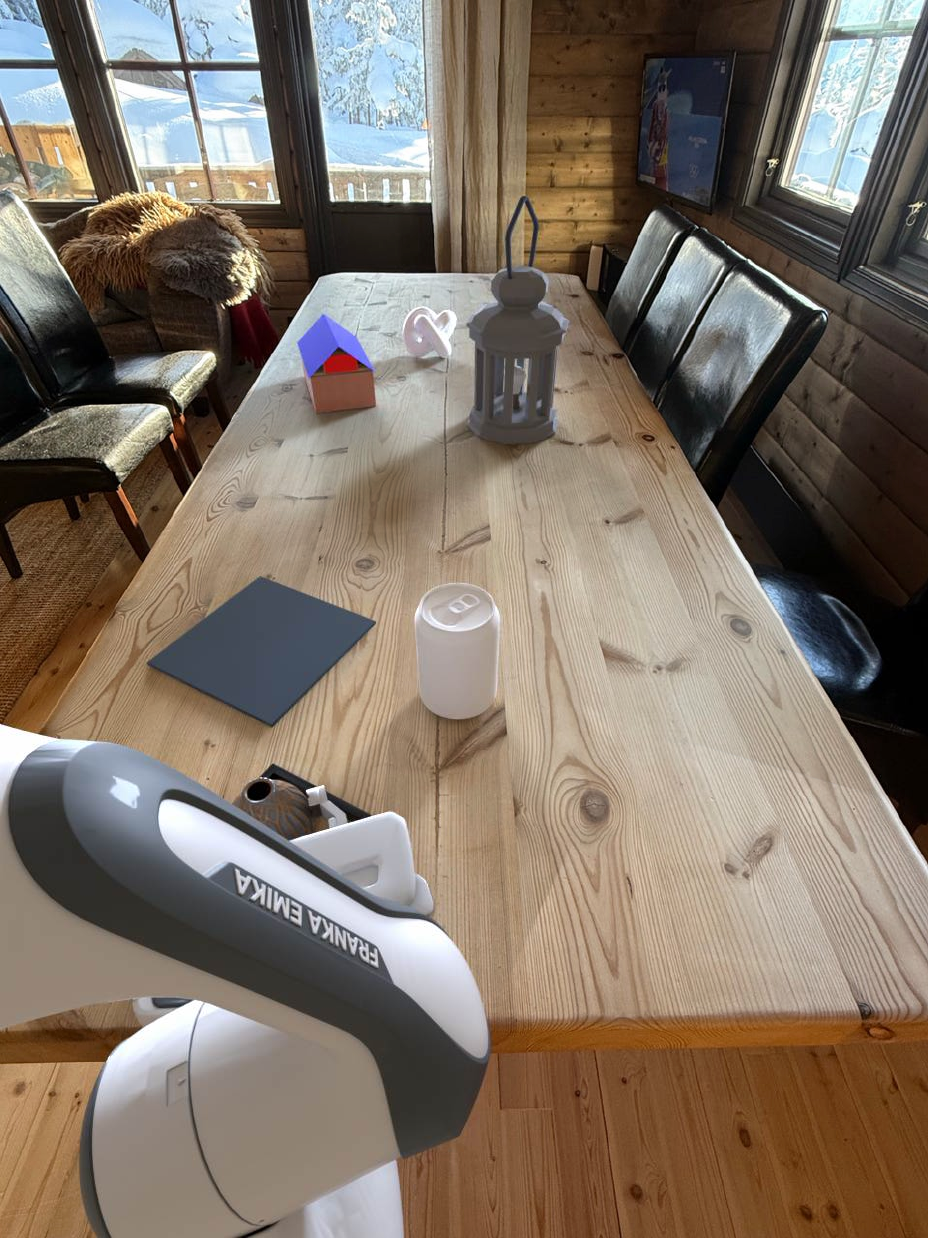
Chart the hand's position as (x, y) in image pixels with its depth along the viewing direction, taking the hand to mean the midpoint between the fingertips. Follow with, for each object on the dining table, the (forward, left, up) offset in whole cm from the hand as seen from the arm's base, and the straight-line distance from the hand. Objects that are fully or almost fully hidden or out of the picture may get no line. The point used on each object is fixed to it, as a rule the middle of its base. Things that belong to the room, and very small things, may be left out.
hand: (265, 805), depth 52 cm
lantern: (+85, +19, -6) cm, 87 cm away
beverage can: (+23, -5, -6) cm, 24 cm away
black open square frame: (0, -1, -6) cm, 6 cm away
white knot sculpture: (+108, +50, -6) cm, 119 cm away
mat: (+19, +18, -6) cm, 27 cm away
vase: (-1, -1, -6) cm, 6 cm away
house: (+82, +56, -6) cm, 99 cm away
